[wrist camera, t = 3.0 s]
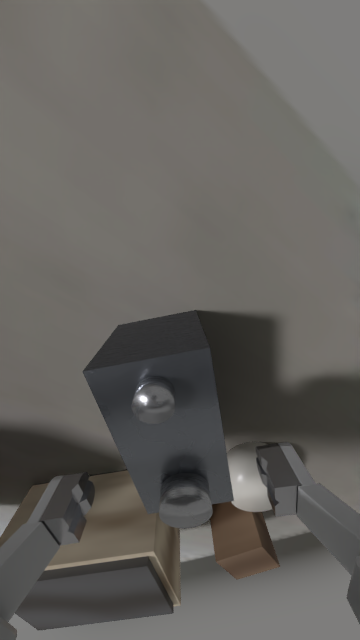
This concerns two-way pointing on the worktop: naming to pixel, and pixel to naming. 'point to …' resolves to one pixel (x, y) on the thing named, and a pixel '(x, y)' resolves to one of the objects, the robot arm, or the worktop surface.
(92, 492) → the robot arm
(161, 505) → the block
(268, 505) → the white egg shape
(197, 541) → the worktop surface
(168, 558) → the stand
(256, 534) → the walnut block
